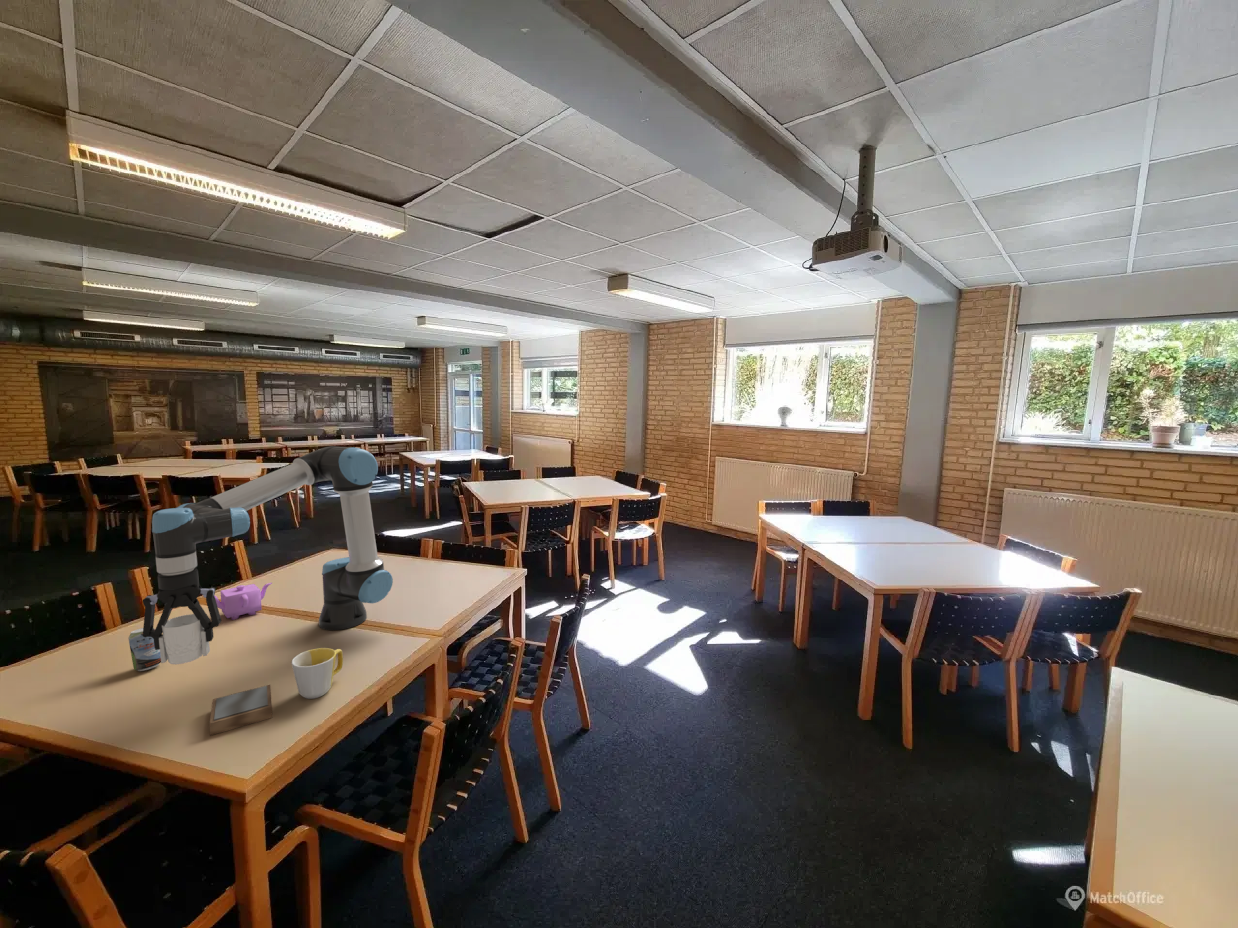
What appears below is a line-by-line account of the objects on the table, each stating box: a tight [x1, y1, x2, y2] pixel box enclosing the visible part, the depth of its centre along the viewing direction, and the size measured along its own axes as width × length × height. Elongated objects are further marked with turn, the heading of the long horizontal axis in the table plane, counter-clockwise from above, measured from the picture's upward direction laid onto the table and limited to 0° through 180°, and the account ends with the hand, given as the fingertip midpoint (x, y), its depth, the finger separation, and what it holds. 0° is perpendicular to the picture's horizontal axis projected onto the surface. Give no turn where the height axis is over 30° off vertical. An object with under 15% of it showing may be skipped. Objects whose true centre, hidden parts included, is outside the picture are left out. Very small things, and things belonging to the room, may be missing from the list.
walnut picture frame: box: [209, 684, 273, 736], centre depth 124 cm, size 12×12×3 cm
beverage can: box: [128, 627, 162, 672], centre depth 144 cm, size 6×7×12 cm
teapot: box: [214, 582, 273, 621], centre depth 182 cm, size 15×13×11 cm
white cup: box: [162, 613, 203, 665], centre depth 125 cm, size 8×8×10 cm
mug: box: [291, 647, 344, 700], centre depth 135 cm, size 14×10×10 cm
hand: (186, 656), depth 125 cm, fingers closed on white cup, 7 cm apart
